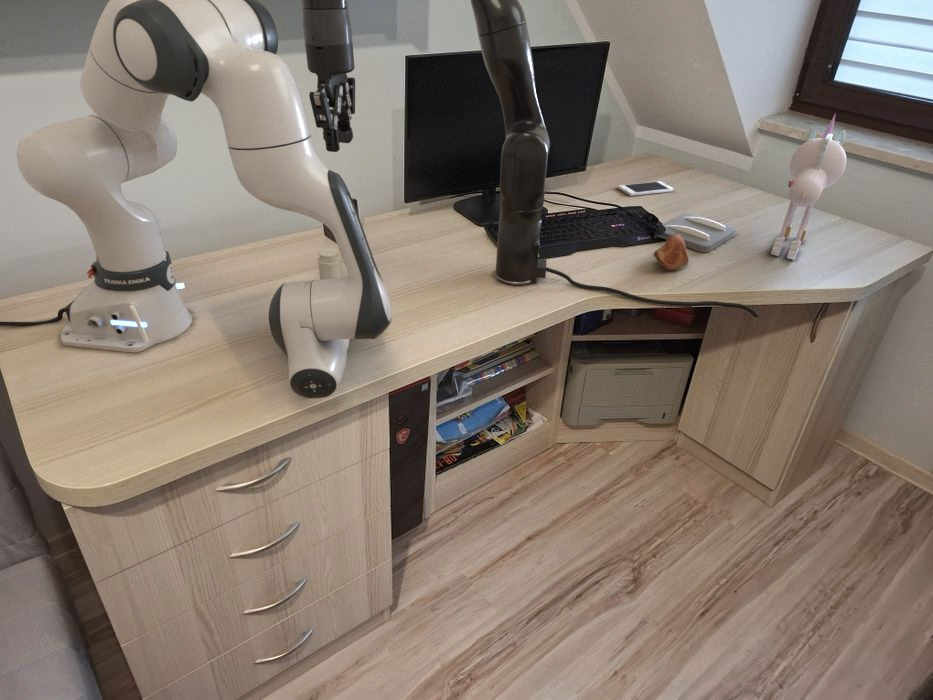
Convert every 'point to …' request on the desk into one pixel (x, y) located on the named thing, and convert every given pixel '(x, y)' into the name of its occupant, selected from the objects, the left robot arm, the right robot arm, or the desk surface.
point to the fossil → (672, 253)
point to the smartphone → (645, 188)
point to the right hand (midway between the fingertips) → (339, 146)
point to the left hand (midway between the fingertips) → (333, 293)
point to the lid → (343, 133)
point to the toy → (811, 180)
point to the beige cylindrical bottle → (329, 264)
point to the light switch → (698, 231)
